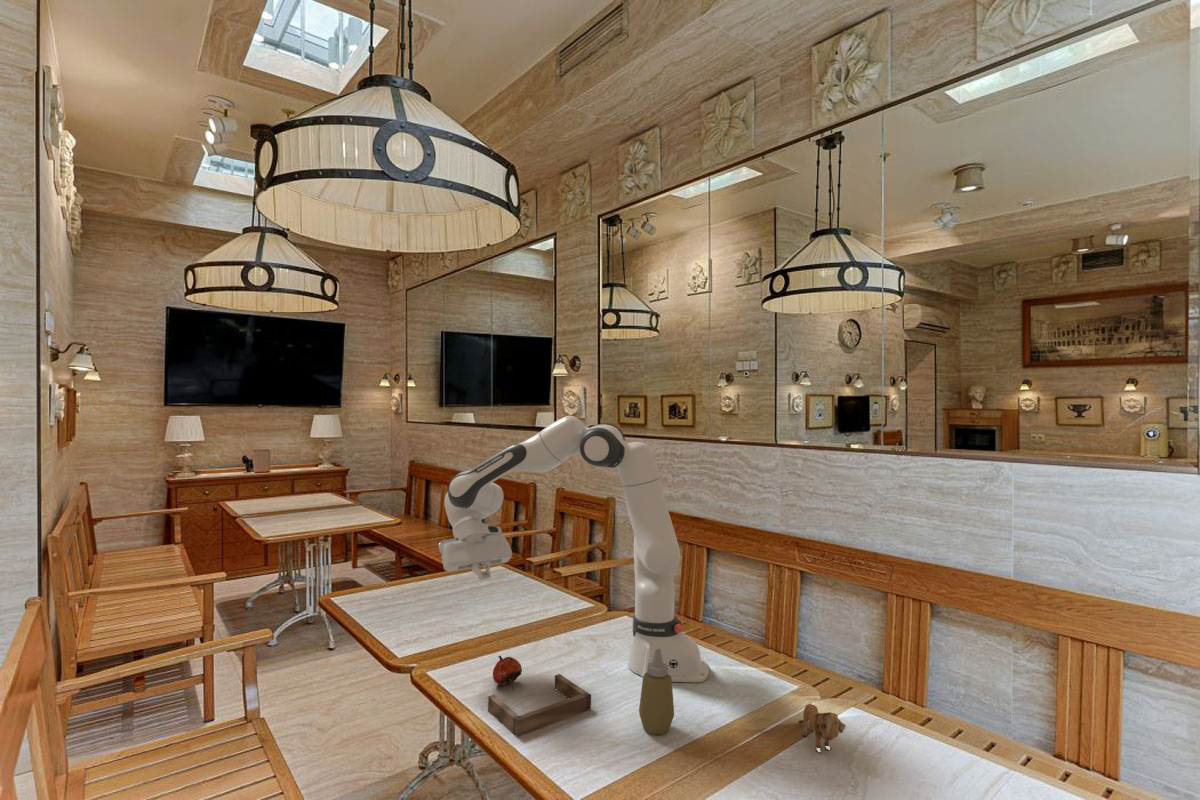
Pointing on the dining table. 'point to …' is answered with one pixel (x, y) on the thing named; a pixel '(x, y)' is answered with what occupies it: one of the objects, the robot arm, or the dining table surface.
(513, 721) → the walnut bay
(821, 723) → the lion figurine
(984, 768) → the dining table surface
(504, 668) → the red round fruit
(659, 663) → the squeeze bottle
